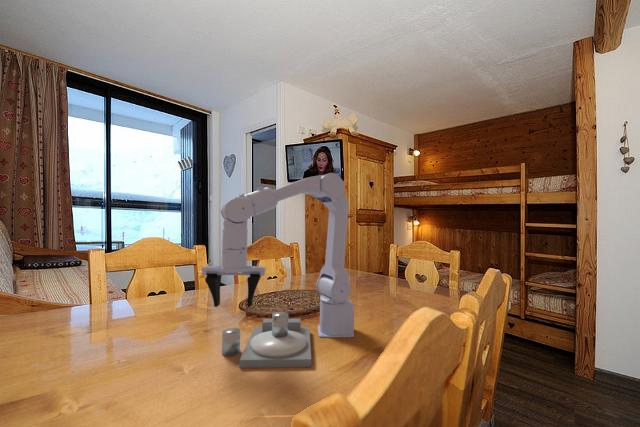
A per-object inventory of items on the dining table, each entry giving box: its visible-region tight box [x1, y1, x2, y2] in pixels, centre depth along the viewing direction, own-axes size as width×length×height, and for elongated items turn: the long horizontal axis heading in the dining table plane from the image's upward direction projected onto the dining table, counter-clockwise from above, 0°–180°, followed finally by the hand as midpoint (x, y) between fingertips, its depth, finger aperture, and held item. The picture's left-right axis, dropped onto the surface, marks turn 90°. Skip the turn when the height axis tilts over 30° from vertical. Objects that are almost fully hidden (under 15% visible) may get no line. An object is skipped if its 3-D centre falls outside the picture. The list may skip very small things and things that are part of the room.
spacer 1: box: [221, 327, 241, 357], centre depth 68 cm, size 4×4×5 cm
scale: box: [238, 318, 312, 369], centre depth 71 cm, size 15×19×4 cm
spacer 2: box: [271, 311, 289, 337], centre depth 72 cm, size 4×4×5 cm
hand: (233, 305), depth 69 cm, fingers open, 7 cm apart
